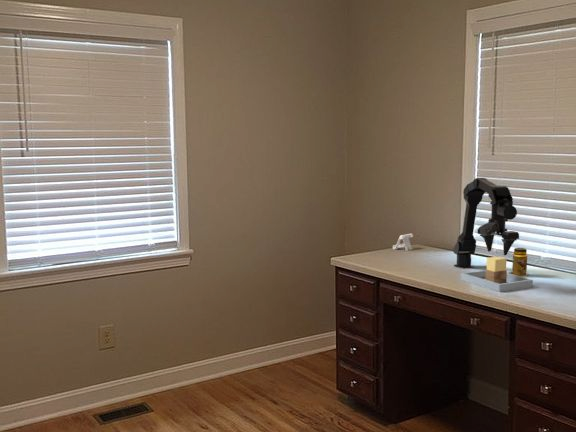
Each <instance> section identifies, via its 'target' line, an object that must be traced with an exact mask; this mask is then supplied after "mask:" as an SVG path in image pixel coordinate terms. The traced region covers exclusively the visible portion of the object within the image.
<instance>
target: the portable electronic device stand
mask: <svg viewBox="0 0 576 432" xmlns="http://www.w3.org/2000/svg"><path fill="white" fill-rule="evenodd" d="M413 237H414V234H413V233H406V234H401V235H399V238H398V239H397V242H396V244H393V245H392V250H399V249H404V248H405V249H404V250H405V251H407V252H408V251H409V250H410V251H412V250H413V247H412V245H411V241H410V238H413ZM401 240H402V241H403V243H401Z"/></svg>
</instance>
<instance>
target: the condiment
mask: <svg viewBox="0 0 576 432" xmlns="http://www.w3.org/2000/svg"><path fill="white" fill-rule="evenodd" d="M513 249H514V250H513V254H512V271H507V273H509V274H513V275H517V276H520V277H524V278H527V277H528V275H529V273H527V270H528V269H527V268H528V255H527V254H528V253H527V251H528V250H527V248H525V247H515V248H513Z"/></svg>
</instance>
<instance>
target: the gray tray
mask: <svg viewBox="0 0 576 432" xmlns="http://www.w3.org/2000/svg"><path fill="white" fill-rule="evenodd" d="M485 274H486V269H484V270H476V271H468V272H461V273H460V281H462V282H466V283H469V284H472V285H476V286H478V287H483V288H485V289H489V290H490V291H491V290H492V291H495V292H499V293H501V292H507V291H509V292H510V291H514V290H516V291H517V290H522V289H528V288H533V286H534V285H533V283H534V279H531V278H527V277H520V276H517V275H513V274H509V273H508V272H507V280H506V283H502V284H498V283H495V282H492V281H488V280H485Z"/></svg>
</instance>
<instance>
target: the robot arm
mask: <svg viewBox="0 0 576 432" xmlns="http://www.w3.org/2000/svg"><path fill="white" fill-rule="evenodd" d="M462 191H463V192H462V193H463V200H464V201H465V203H466V204H465V210H464V216H463V217H464V219H463V225H462V232H461V234H460V235H459V236H458V237H457V240H456V243H455V245H454V247H453V249H452V250H453V251H452V252H453V254H455V255H456V264H454V265H453V267H458V268H460V269H467V268H473V267H474V265H472V255H475V253H476V248H477V239H475V237H474V231H475V230H474V229H475V222H476V218H477V217H476V215H477V211H478V209H477V208H478V205H480V203H481V202H482V201H483V196H484V195H485V193H487V194H488V197H489V199H490V200H491V201H490V203H489V205H491V212H490V213H491V214H490V215H491V216H490V217H491V218H488V222H487V223H484V224H482V225H481V226H479V227H478V228H477V234H478V235H479V237H481V238H482V239H483V240H484V244H485V245H486V249H487V252H491V251H492V247H493V243H494V238H495V236H500V237H501V238H502V239H500V240H501V242H502V243H503V251H502V252H503V256H507V254H508V252H510V249H511V247H512V245H514V243H515V242H516V241H517V240H519V239H520V233H519V232H518V231H514V230H508V228H506V222H509V220H514V219H515V218H516V217H517V215H518V210H517V208H516V207H515V206H514V201H513V200H514V198H513V196H512V194H511V191H510V189H509V187H508V186H505V185H497V184H496V183H494V182H492V181H490V180H488V179H487V178H485V177H476V178H474V179H473V181H471V182H469V183H467V184H466V185H465V187H464V188H463V190H462Z"/></svg>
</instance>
